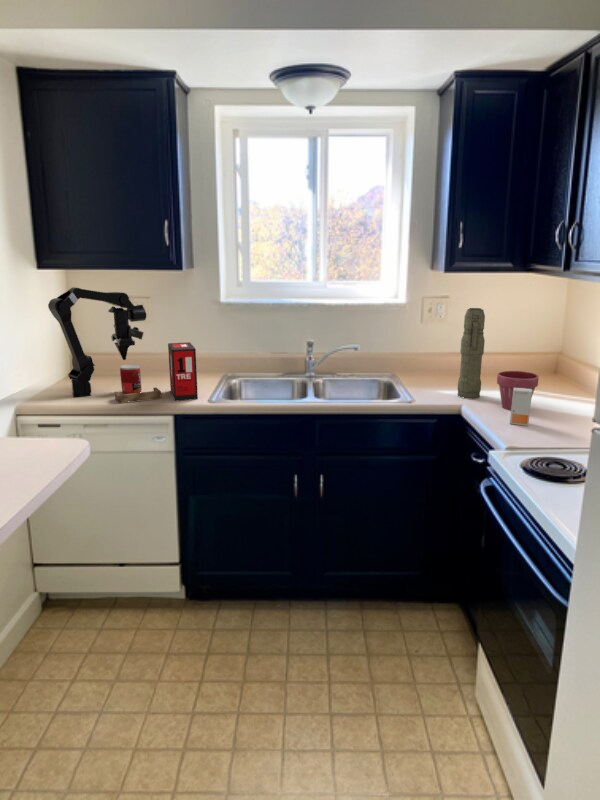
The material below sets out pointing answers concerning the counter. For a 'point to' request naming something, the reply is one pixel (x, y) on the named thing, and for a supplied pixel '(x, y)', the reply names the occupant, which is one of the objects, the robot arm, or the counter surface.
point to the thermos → (471, 354)
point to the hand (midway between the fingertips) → (124, 359)
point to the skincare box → (521, 406)
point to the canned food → (130, 379)
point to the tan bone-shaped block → (138, 396)
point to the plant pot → (514, 384)
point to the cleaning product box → (183, 371)
